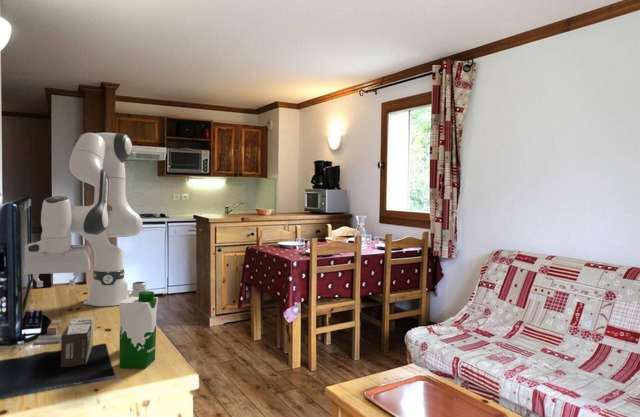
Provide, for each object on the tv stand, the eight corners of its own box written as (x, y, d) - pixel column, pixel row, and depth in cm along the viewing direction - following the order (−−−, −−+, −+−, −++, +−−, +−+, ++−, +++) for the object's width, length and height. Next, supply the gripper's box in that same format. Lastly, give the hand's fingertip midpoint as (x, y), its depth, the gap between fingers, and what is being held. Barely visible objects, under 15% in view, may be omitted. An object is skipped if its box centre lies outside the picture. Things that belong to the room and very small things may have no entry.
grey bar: (45, 329, 154) (45, 320, 154) (68, 327, 156) (68, 319, 156) (34, 345, 138) (34, 335, 138) (60, 343, 141) (60, 333, 140)
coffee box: (70, 318, 136) (60, 333, 121) (94, 316, 138) (87, 331, 123) (70, 348, 136) (60, 367, 121) (93, 346, 138) (86, 365, 123)
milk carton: (146, 370, 121) (148, 296, 121) (113, 369, 121) (115, 295, 121) (159, 358, 130) (161, 289, 129) (128, 357, 130) (129, 288, 130)
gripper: (92, 243, 157) (91, 282, 158) (23, 244, 150) (23, 285, 151) (90, 246, 151) (89, 286, 152) (18, 247, 144) (18, 289, 145)
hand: (56, 286), depth 151 cm, fingers open, 8 cm apart
